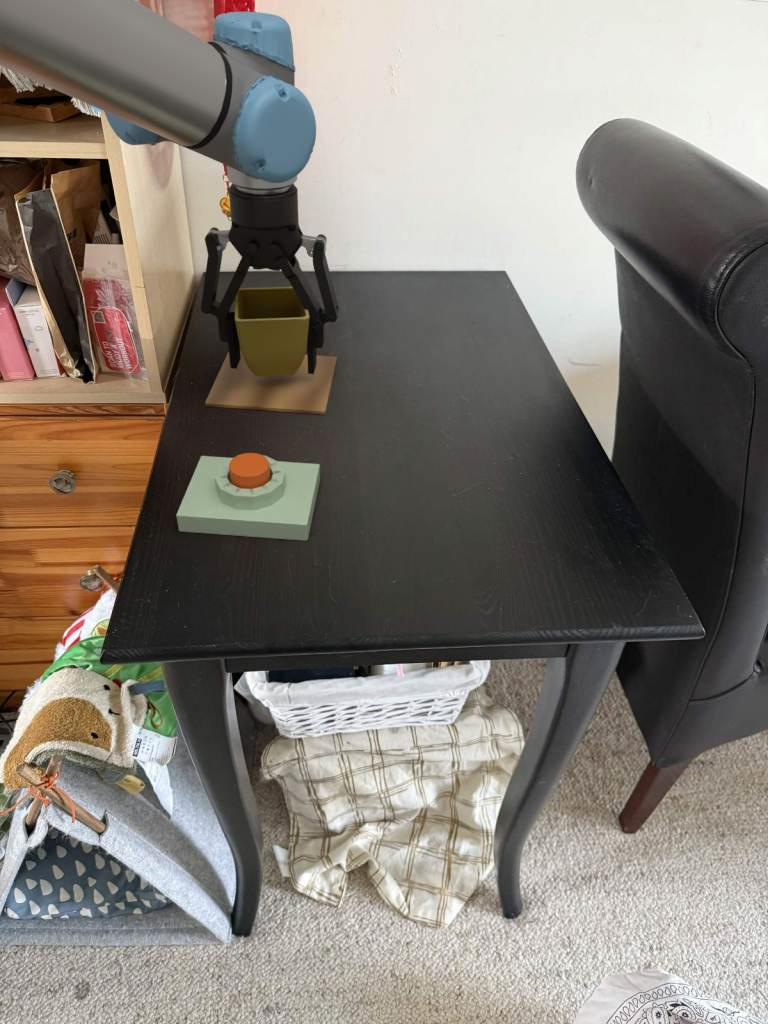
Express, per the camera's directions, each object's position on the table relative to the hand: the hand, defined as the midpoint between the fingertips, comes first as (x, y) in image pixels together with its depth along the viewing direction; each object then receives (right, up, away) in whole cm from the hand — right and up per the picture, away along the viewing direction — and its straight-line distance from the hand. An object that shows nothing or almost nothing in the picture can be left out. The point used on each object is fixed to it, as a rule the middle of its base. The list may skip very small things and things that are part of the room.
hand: (273, 365), depth 94 cm
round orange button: (+1, -15, -20) cm, 25 cm away
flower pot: (0, 0, 0) cm, 0 cm away
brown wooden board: (0, -2, +1) cm, 2 cm away
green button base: (0, -18, -18) cm, 25 cm away
